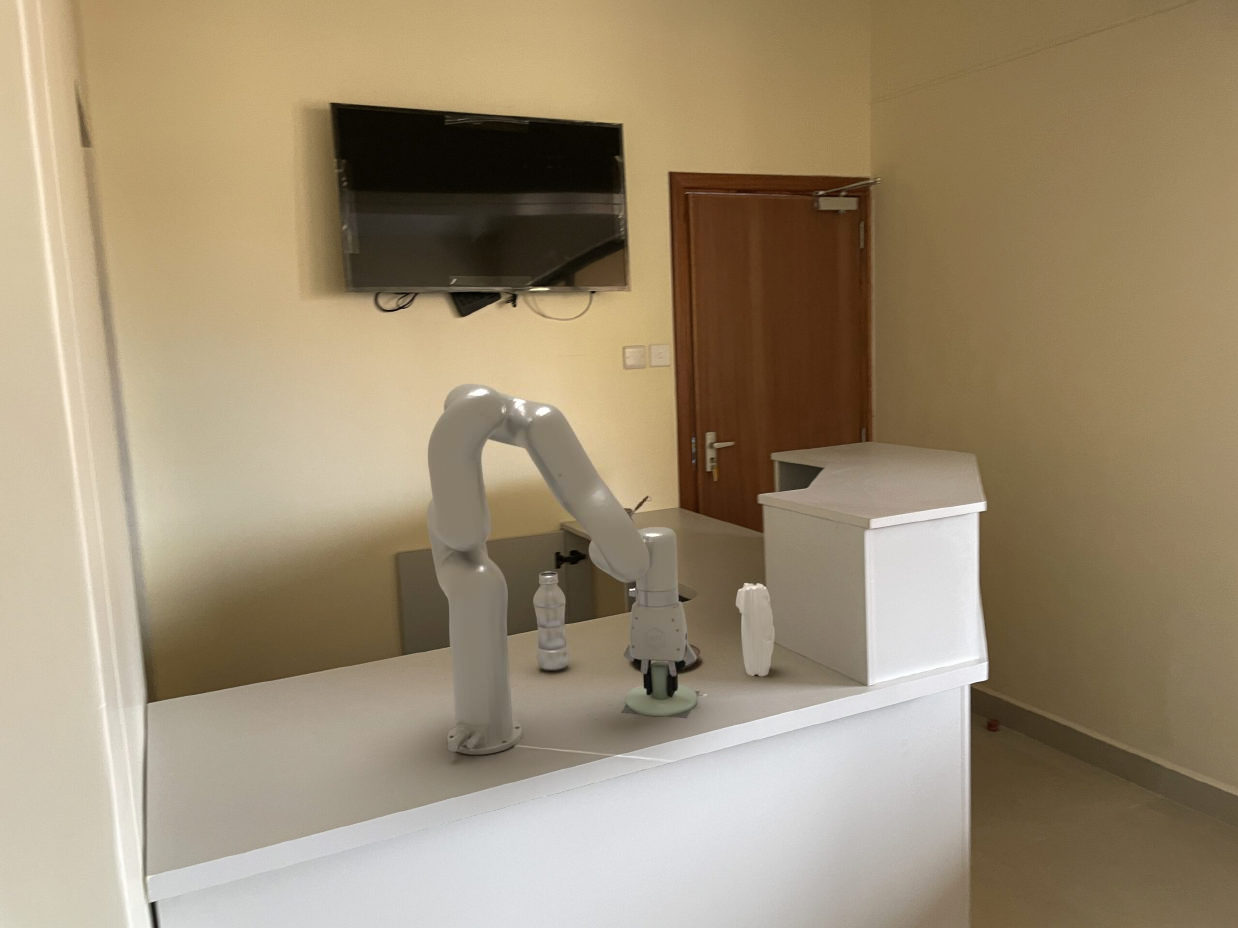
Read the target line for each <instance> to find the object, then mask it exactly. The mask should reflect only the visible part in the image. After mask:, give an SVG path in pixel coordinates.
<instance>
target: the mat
mask: <svg viewBox="0 0 1238 928" xmlns="http://www.w3.org/2000/svg"><path fill="white" fill-rule="evenodd" d="M694 691H695V692H696V694H697V697H698V696H699V694H700V693H701V691H700V690H694ZM690 712H691V710H689V711H687V712H684V713H681V714H677V715H672V716H667V718H669V717H670V718H681V719H687V718H688V716H689V714H690ZM620 713H622V714H630V715H631V714H634V715H640V714H639V713H636V712H634V711H632V710H630V709H629V708H628V707H627V705H626V704H625V705H624V707H623V708H622V710H621V711H620Z"/></svg>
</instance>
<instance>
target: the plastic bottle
mask: <svg viewBox="0 0 1238 928" xmlns="http://www.w3.org/2000/svg"><path fill="white" fill-rule="evenodd" d="M538 579H539V580H538V584H539V587H538V589H537V590H536V591H535V593H534V595H533V608H534V611H535V615H536V616H535V617H536V622H537V623H536V624H537V625H536V626H537V630H538V631H537V632H538V634H537V635H538V636H537V649H536V660H537V665H538V666H539V667H540V668H541V670H545V671H559V670H562V669H565V668H567V666H568V664H569V660H570V651H569V648H568V645H567V639H566V632H565V631H566V630H565V613H566V612H565V611H566V596H565V594H564V592H563V590H562V588H561V587H560V586H558V583H559V579H558V572H556V571H545V572H540V573H539V574H538Z"/></svg>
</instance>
